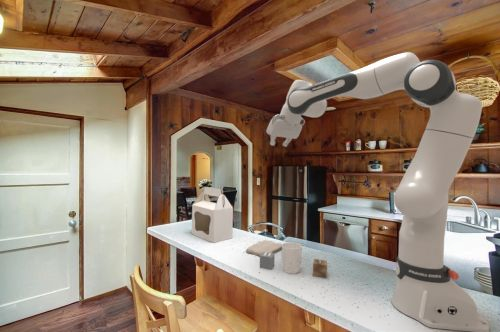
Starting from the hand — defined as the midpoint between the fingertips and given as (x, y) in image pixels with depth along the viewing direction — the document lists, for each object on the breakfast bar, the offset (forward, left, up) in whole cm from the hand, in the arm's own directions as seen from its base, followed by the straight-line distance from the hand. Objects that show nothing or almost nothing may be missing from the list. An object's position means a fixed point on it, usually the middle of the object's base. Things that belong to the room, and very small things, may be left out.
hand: (278, 145), depth 112 cm
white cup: (-9, +13, -51) cm, 53 cm away
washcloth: (+6, -5, -52) cm, 52 cm away
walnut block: (-20, +13, -51) cm, 56 cm away
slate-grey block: (+1, +13, -51) cm, 53 cm away
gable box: (+41, -16, -51) cm, 67 cm away
